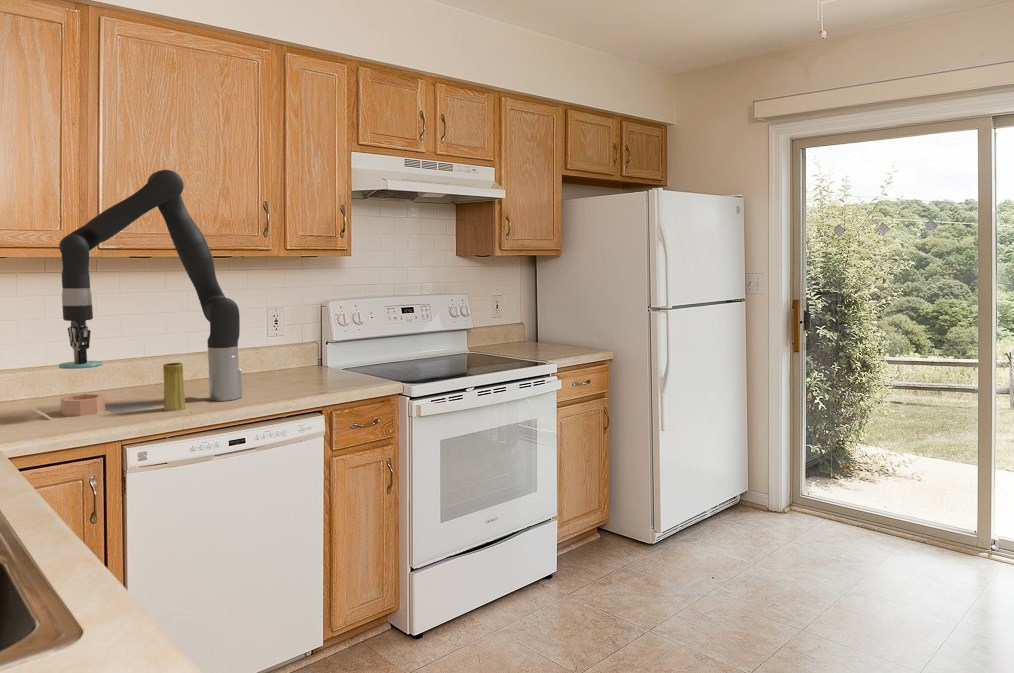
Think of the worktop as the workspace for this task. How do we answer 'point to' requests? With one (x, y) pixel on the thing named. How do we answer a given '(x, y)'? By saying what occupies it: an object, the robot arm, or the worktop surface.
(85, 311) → the robot arm
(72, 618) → the worktop surface
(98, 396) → the bowl
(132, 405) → the mat
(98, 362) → the lid
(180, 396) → the vase
